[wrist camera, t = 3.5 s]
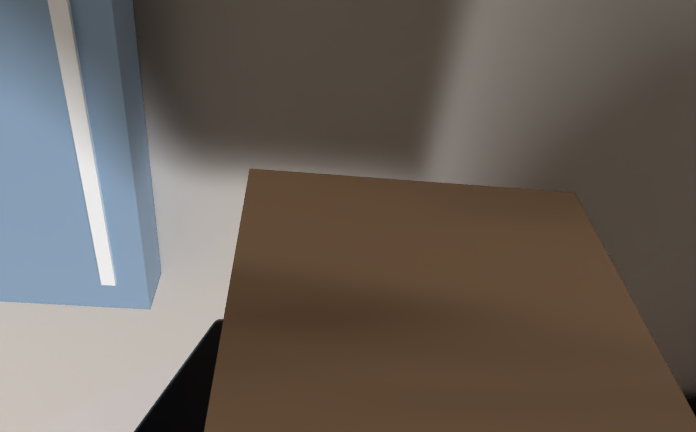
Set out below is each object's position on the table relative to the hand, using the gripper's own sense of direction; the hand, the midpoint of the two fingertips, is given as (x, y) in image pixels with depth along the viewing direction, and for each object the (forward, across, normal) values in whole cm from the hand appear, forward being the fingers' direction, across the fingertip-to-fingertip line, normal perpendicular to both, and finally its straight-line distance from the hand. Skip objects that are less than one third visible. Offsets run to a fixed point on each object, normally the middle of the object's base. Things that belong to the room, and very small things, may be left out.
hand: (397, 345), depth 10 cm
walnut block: (+1, 0, 0) cm, 1 cm away
